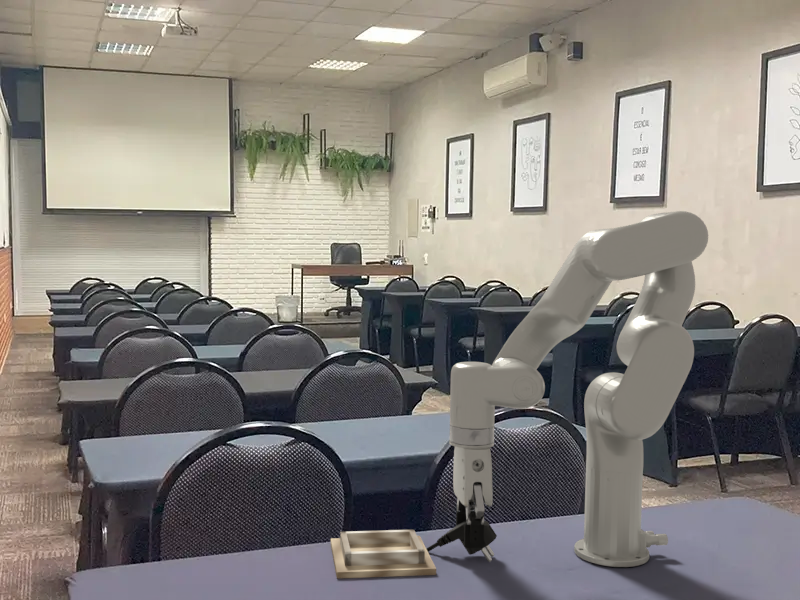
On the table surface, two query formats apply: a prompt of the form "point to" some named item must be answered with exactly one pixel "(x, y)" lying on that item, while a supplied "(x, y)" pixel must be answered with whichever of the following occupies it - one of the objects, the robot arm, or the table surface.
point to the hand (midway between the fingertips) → (469, 539)
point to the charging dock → (380, 554)
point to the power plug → (459, 534)
